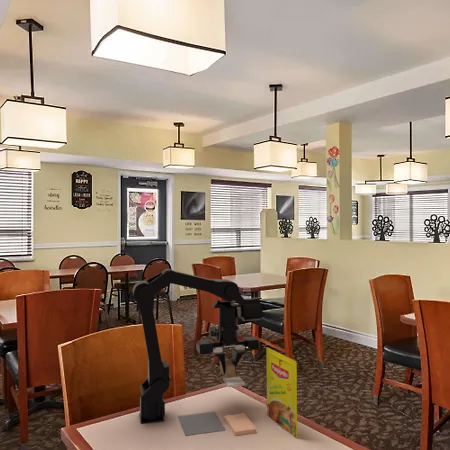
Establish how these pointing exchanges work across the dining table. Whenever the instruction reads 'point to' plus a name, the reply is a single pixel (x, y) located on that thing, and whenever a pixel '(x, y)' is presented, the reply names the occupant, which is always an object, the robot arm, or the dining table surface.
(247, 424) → the tile
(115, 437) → the dining table surface
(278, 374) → the food package
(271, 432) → the dining table surface
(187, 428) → the mat
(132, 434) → the dining table surface
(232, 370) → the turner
